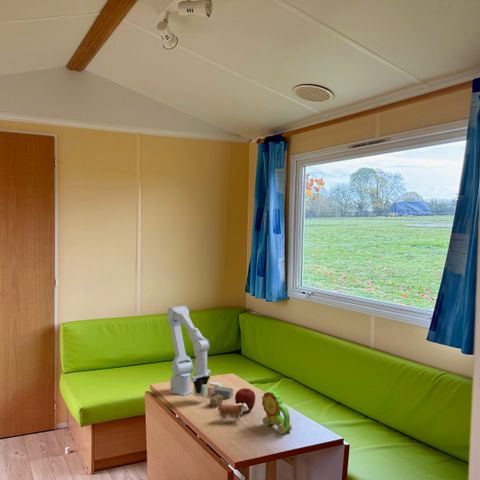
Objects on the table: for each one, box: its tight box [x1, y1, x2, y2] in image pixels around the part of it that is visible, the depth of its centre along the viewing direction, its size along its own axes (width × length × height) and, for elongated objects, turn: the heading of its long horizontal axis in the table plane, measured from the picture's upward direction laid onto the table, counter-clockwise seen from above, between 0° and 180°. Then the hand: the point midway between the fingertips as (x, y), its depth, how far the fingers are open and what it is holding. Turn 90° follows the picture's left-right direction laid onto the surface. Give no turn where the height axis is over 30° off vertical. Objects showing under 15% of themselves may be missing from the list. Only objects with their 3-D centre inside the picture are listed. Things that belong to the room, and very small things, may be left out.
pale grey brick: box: [208, 381, 223, 393], centre depth 257 cm, size 6×3×4 cm, turn 61°
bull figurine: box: [217, 403, 249, 423], centre depth 219 cm, size 4×13×8 cm, turn 89°
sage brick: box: [193, 384, 209, 398], centre depth 241 cm, size 6×3×5 cm, turn 61°
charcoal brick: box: [214, 386, 234, 400], centre depth 249 cm, size 8×5×4 cm, turn 72°
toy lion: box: [261, 390, 293, 435], centre depth 212 cm, size 16×5×15 cm, turn 37°
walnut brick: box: [209, 394, 224, 409], centre depth 237 cm, size 6×3×4 cm, turn 152°
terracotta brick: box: [207, 384, 215, 397], centre depth 253 cm, size 6×3×4 cm, turn 62°
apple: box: [234, 387, 256, 413], centre depth 231 cm, size 10×10×10 cm
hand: (200, 391), depth 241 cm, fingers closed on sage brick, 3 cm apart
